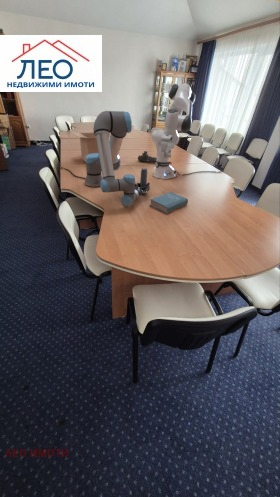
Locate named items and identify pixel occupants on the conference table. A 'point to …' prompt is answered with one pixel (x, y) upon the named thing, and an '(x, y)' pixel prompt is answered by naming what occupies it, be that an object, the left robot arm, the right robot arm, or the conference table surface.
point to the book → (168, 202)
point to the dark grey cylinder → (143, 178)
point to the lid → (168, 155)
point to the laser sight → (146, 158)
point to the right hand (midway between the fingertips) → (166, 156)
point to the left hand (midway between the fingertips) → (145, 183)
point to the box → (87, 143)
